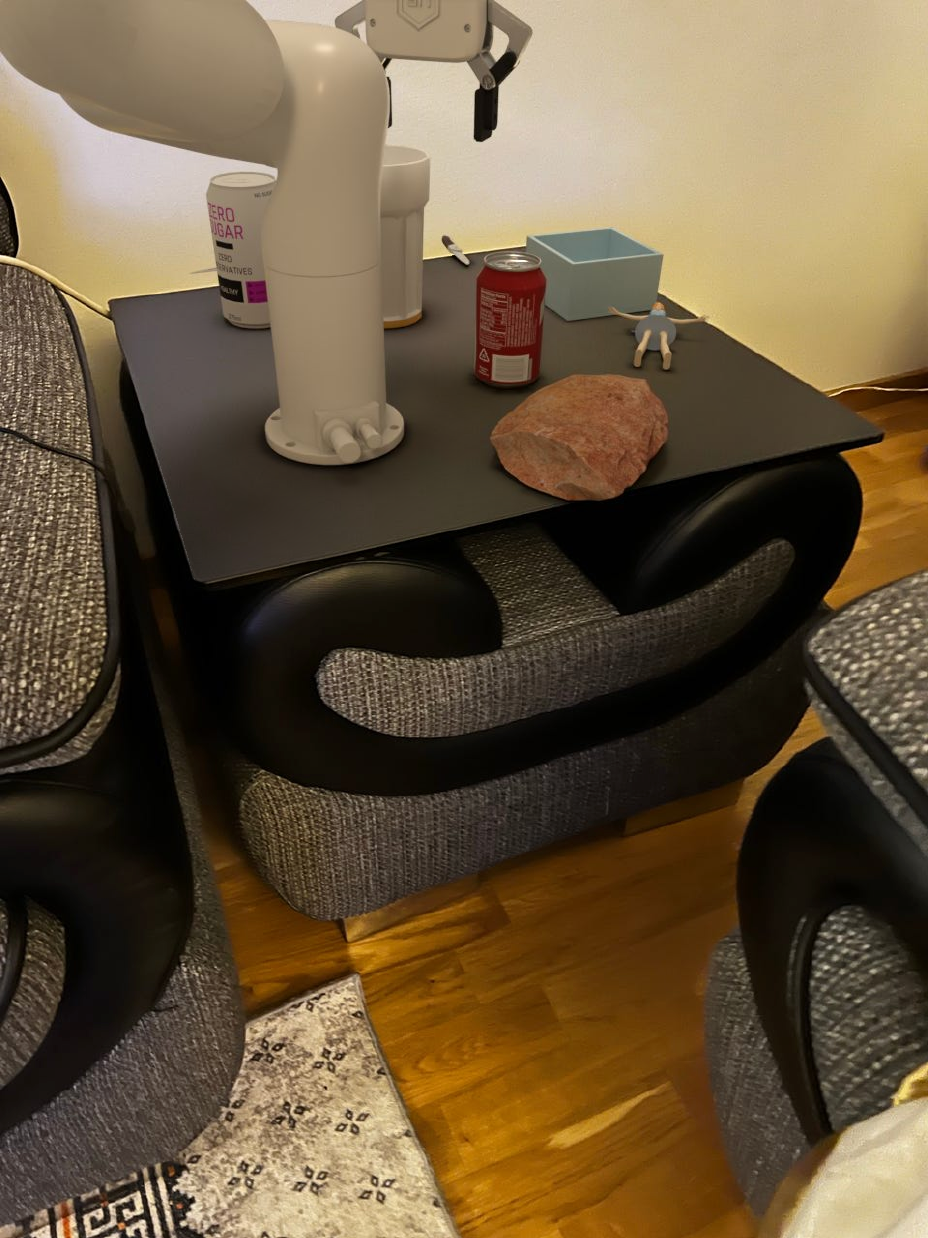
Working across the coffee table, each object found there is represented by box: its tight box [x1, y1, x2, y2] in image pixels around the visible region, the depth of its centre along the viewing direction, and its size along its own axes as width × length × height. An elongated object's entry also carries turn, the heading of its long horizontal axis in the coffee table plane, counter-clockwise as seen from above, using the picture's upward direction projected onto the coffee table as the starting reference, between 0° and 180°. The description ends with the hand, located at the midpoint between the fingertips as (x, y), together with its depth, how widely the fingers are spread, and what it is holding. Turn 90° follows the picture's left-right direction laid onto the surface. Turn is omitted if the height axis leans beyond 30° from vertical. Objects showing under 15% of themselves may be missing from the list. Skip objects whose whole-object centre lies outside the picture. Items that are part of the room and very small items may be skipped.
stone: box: [489, 373, 669, 502], centre depth 80 cm, size 14×6×20 cm
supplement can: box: [205, 171, 277, 329], centre depth 101 cm, size 8×8×15 cm
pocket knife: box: [441, 234, 470, 266], centre depth 127 cm, size 14×1×2 cm
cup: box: [380, 143, 431, 330], centre depth 102 cm, size 11×11×17 cm
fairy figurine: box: [607, 301, 710, 370], centre depth 100 cm, size 12×5×12 cm
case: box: [525, 226, 665, 322], centre depth 111 cm, size 12×12×7 cm
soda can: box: [473, 250, 546, 390], centre depth 90 cm, size 7×7×12 cm
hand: (431, 134), depth 81 cm, fingers open, 9 cm apart
